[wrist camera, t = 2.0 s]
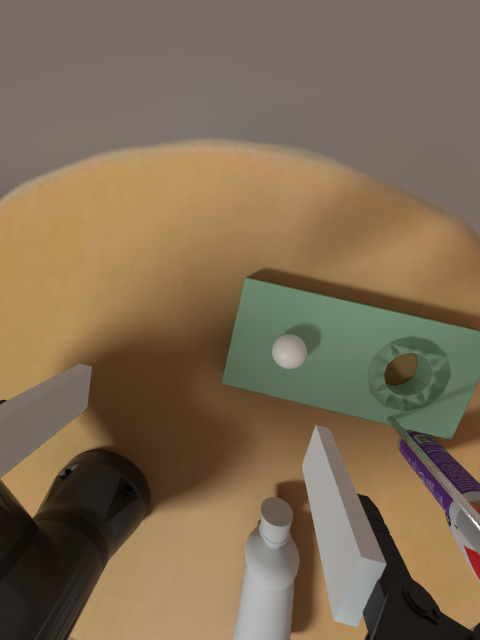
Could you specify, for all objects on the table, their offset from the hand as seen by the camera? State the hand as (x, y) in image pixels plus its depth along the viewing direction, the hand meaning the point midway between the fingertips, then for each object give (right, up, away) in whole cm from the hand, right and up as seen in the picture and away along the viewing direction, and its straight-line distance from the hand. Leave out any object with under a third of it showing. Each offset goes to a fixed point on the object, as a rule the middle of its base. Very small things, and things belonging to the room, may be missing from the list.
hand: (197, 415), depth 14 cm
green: (+16, +1, +20) cm, 26 cm away
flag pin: (+23, -7, +18) cm, 30 cm away
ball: (+8, +2, +15) cm, 17 cm away
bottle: (+7, -35, +28) cm, 46 cm away
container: (+27, -12, +22) cm, 37 cm away
